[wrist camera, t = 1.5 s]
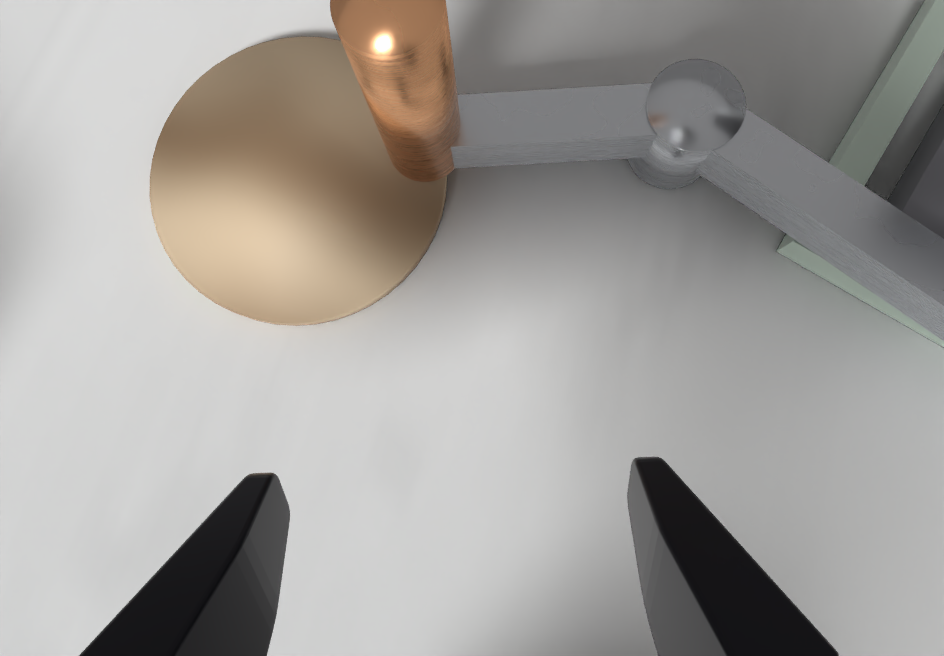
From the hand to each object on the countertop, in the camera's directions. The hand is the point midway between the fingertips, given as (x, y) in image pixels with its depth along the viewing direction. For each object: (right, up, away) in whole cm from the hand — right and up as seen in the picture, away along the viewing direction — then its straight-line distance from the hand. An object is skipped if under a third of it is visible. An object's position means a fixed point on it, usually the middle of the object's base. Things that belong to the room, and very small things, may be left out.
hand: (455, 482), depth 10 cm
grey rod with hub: (+8, +4, +11) cm, 14 cm away
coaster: (-6, +7, +12) cm, 15 cm away
